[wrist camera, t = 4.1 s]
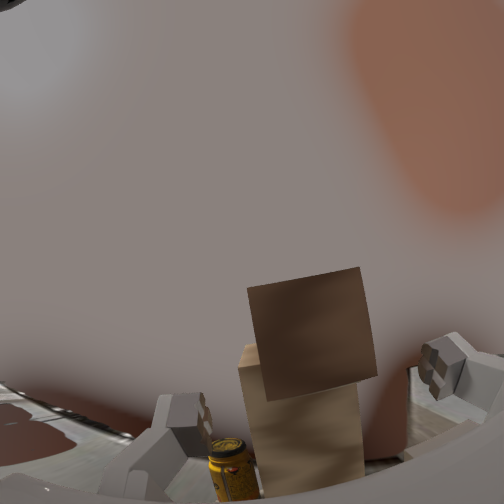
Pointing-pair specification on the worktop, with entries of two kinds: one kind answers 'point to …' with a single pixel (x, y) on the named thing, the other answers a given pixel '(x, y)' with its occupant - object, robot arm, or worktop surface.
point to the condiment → (233, 471)
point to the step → (439, 440)
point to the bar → (312, 334)
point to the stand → (301, 434)
